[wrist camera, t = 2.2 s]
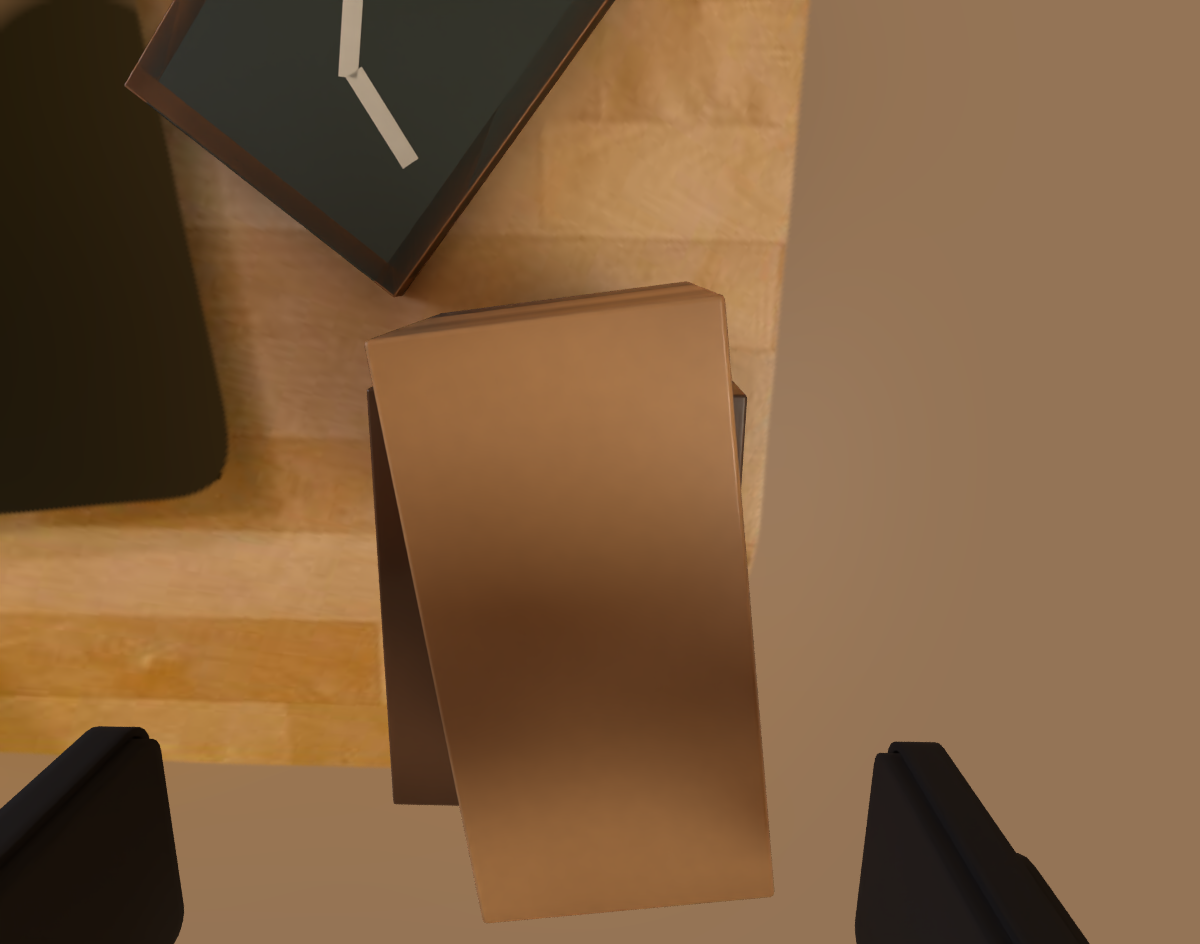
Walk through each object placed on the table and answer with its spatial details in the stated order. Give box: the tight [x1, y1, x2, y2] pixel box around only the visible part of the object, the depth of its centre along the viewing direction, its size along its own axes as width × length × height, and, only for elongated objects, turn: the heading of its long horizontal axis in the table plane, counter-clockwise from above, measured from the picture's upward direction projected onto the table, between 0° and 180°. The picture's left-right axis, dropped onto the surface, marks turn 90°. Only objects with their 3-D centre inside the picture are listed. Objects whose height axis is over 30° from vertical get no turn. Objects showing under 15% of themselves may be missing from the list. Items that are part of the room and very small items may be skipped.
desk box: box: [367, 381, 747, 806], centre depth 24 cm, size 9×7×18 cm
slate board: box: [125, 0, 615, 297], centre depth 29 cm, size 15×12×1 cm
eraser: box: [365, 282, 774, 923], centre depth 13 cm, size 9×4×4 cm, turn 7°
